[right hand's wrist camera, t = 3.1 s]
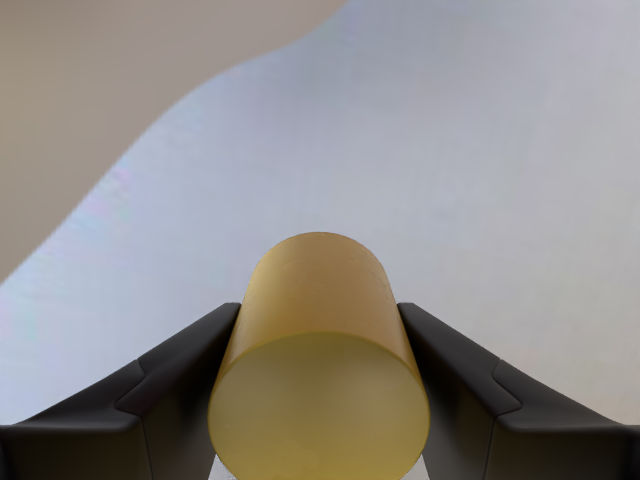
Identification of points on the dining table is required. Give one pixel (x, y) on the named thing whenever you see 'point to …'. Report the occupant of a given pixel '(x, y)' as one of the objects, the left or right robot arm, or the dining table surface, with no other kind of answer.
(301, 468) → the cylinder
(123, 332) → the dining table surface
